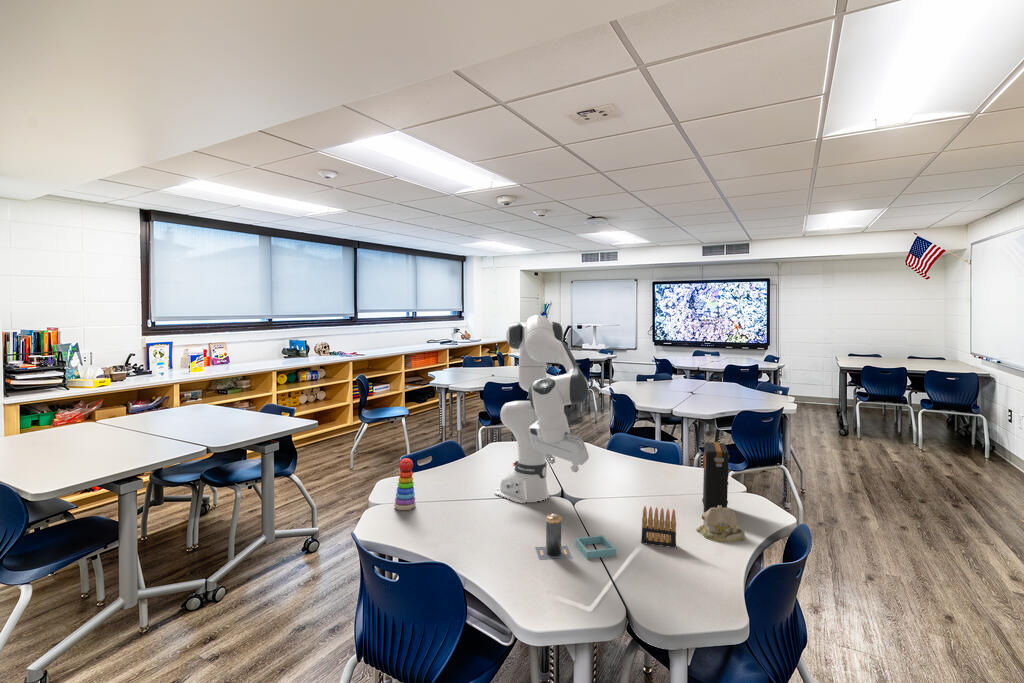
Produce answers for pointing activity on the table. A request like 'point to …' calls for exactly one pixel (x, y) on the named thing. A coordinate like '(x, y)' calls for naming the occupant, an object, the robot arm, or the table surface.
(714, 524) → the ceramic model
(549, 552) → the cell
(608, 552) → the teal square frame
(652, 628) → the table surface
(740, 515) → the table surface
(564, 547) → the checker cradle
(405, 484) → the stacking toy
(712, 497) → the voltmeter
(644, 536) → the ammunition clip
